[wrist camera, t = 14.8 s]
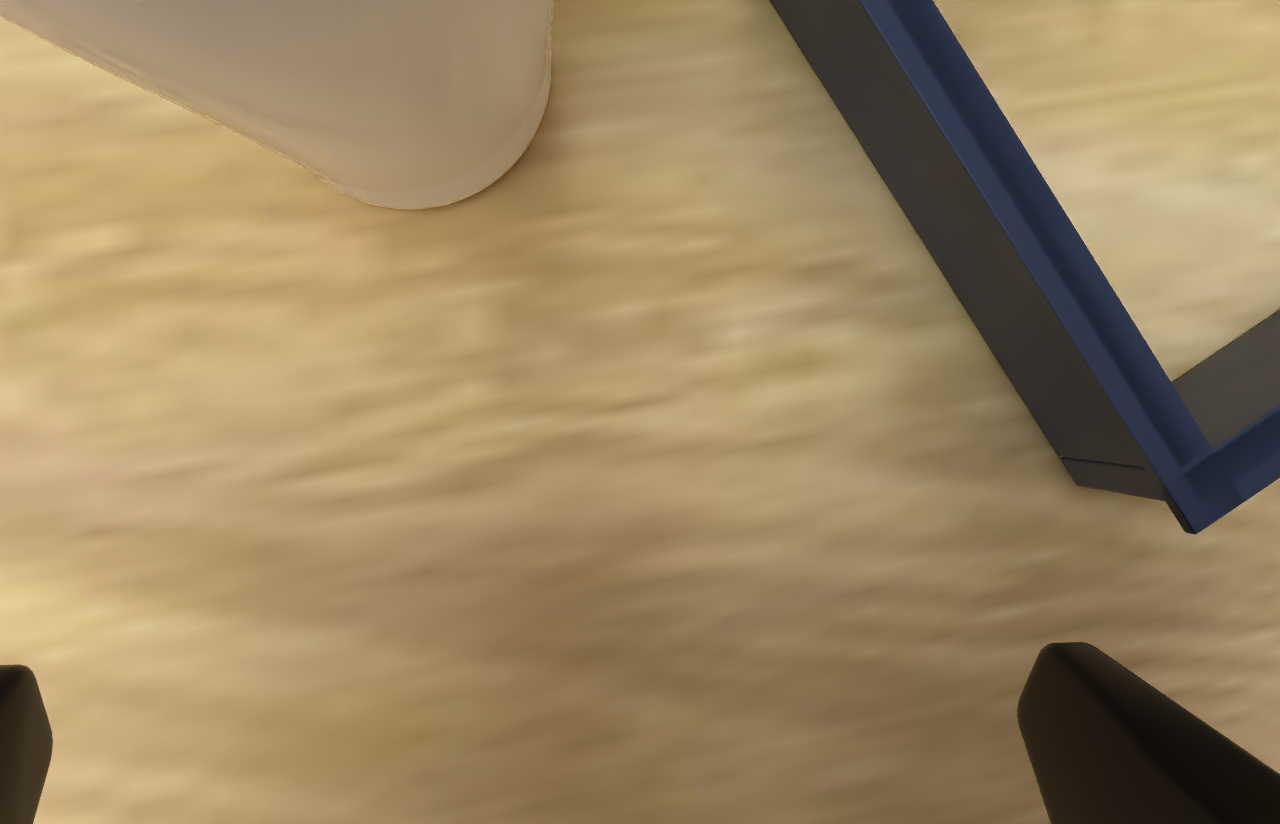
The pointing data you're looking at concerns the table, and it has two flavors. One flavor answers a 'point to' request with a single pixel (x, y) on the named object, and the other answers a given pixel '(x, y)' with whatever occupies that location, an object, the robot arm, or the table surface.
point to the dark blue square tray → (1040, 272)
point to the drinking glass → (335, 80)
